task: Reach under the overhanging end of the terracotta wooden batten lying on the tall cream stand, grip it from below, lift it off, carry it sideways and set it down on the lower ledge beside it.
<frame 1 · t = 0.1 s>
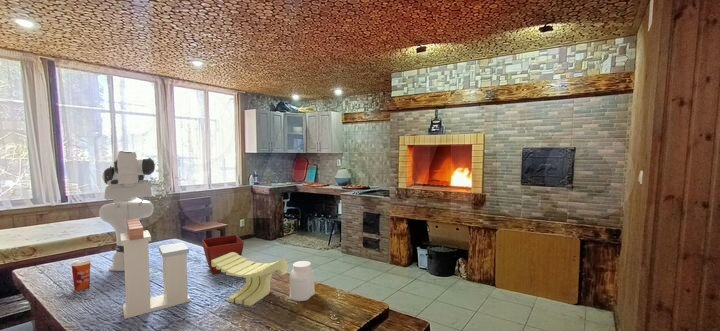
hand: (129, 206, 167), 39 cm above the table, tool pointing down, fingers open, 8 cm apart
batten: (134, 233, 137), point 32 cm above the table, touching stand
slatted curved stool: (250, 296, 148), on the table
jar: (302, 295, 148), on the table
plant pot: (223, 269, 182), on the table
paper cup: (82, 288, 157), on the table
stand: (157, 304, 140), on the table
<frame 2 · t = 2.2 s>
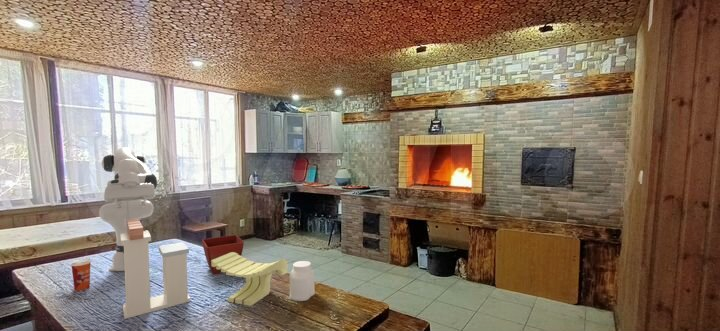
hand: (131, 206, 152), 42 cm above the table, tool tilted 45°, fingers open, 8 cm apart
nothing on the table moved.
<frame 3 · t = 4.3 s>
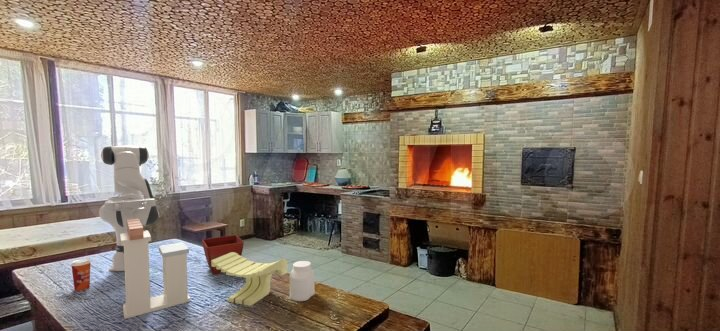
hand: (131, 205, 149), 42 cm above the table, tool horizontal, fingers open, 8 cm apart
nothing on the table moved.
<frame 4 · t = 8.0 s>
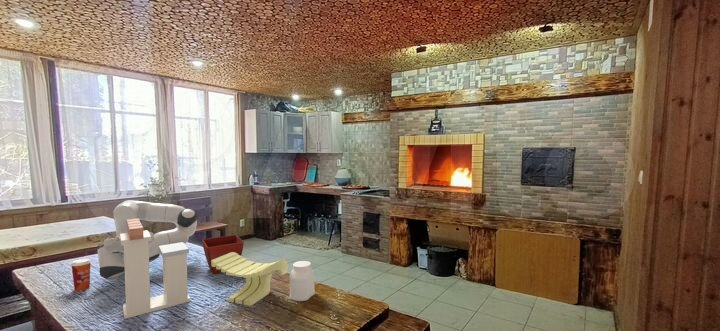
hand: (129, 236, 153), 27 cm above the table, tool pointing upward, fingers open, 8 cm apart
nothing on the table moved.
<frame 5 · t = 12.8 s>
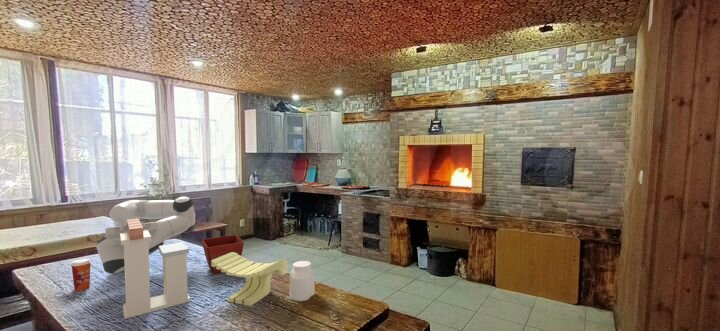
hand: (133, 224, 145), 34 cm above the table, tool pointing upward, fingers closed on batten, 4 cm apart
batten: (134, 233, 137), point 32 cm above the table, touching gripper, stand
everything else where it was.
when the fingers open (29 cm above the table, at t = 19.3 s): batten drops 2 cm, resting on stand.
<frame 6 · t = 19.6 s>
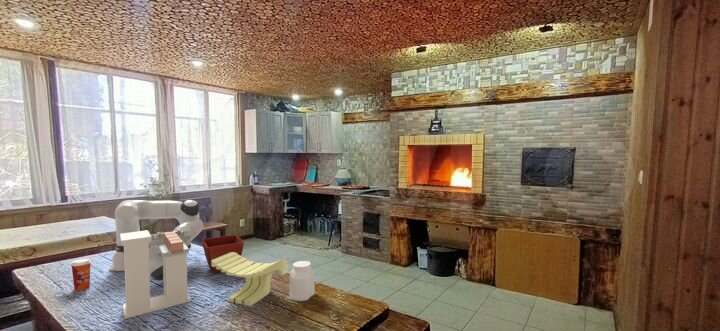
hand: (169, 232, 152), 29 cm above the table, tool pointing upward, fingers open, 7 cm apart
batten: (173, 246, 145), point 24 cm above the table, touching stand
everything else where it was.
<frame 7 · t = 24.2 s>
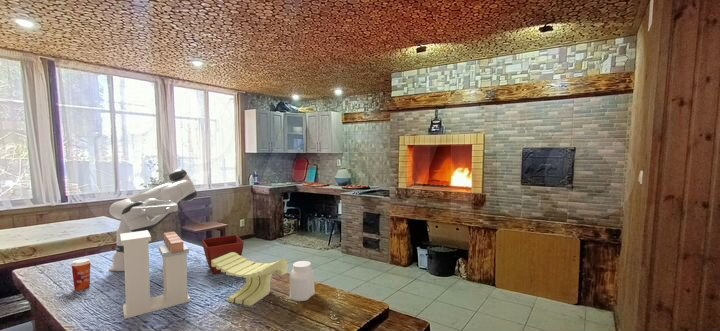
hand: (156, 210, 158), 38 cm above the table, tool horizontal, fingers open, 8 cm apart
nothing on the table moved.
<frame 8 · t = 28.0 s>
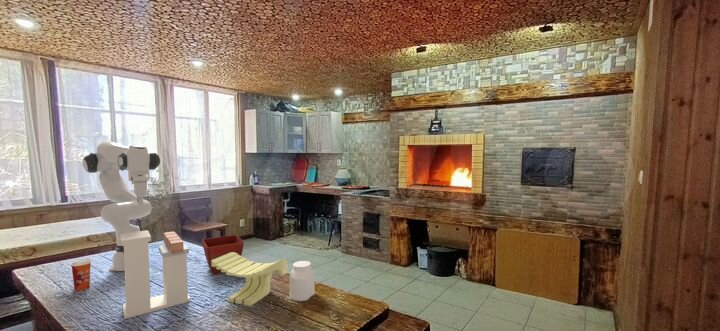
hand: (140, 204, 161), 41 cm above the table, tool pointing down, fingers open, 8 cm apart
nothing on the table moved.
at the end: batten inside the target area on the stand (0.4 cm from its centre), point 24.0 cm above the stand's base; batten tilted 0°; the gripper is holding nothing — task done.
